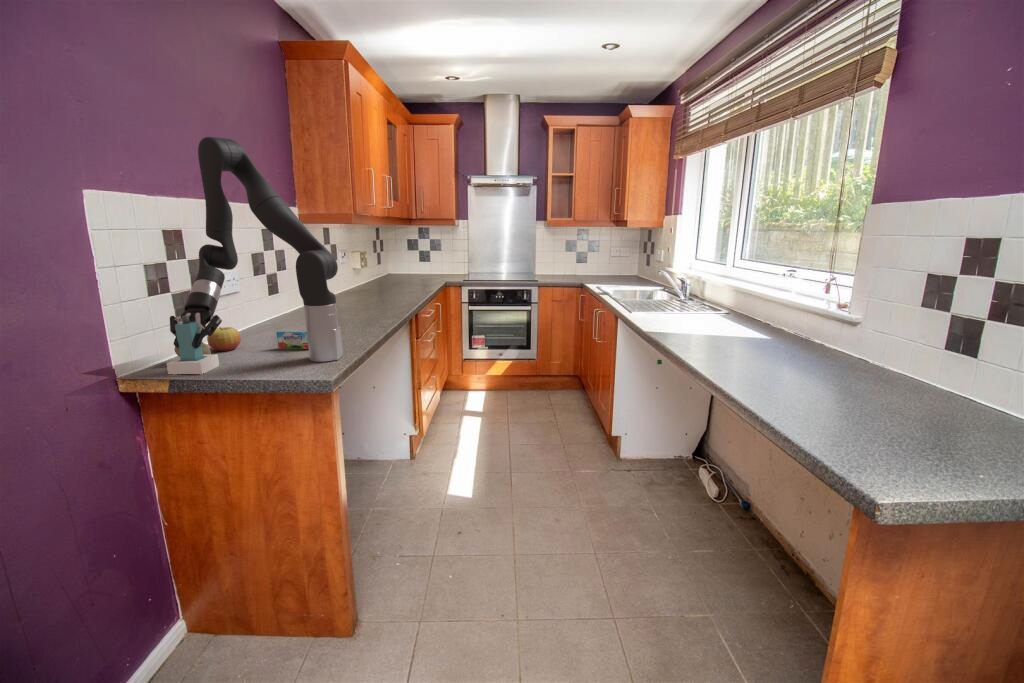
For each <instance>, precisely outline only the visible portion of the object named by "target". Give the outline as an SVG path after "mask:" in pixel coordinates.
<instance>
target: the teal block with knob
mask: <svg viewBox="0 0 1024 683" xmlns="http://www.w3.org/2000/svg"><path fill="white" fill-rule="evenodd" d="M182 321H183V322H182ZM181 322H182V323H181ZM181 322H180V323H179V324H176V325H175V329H176V335H177V341H178V345H179V352H180V357H179V358H181V361H198V360H201V359H203V358H204V356H203V350H202V343H201V345H200V347H198V349H195V348H194V347H193V346H192V342H193V339H194V336H195V334H197V332H196V331H197V324H198V322H190V320H189V316H182V320H181Z"/></svg>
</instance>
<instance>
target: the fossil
mask: <svg viewBox="0 0 1024 683" xmlns="http://www.w3.org/2000/svg"><path fill="white" fill-rule="evenodd" d="M202 350H203V355H211V354H212V353H211V349H210V347H209V345H207V343H205V342H203V341H202ZM174 353H175V354H176V355H177V357H178V358H180V352H179V349H177V348H176V347H175V346H174Z"/></svg>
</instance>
